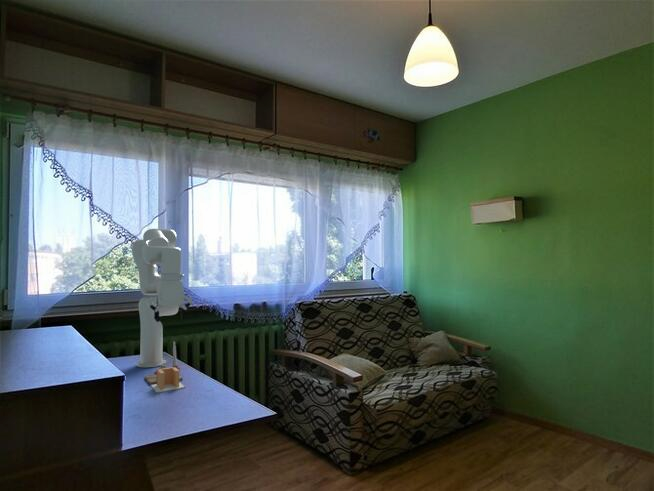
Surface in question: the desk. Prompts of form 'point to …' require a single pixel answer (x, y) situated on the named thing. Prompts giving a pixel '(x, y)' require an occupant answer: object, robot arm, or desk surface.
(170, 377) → the c link
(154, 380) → the stand
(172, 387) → the pad
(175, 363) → the tow hook
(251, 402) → the desk surface
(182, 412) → the desk surface
